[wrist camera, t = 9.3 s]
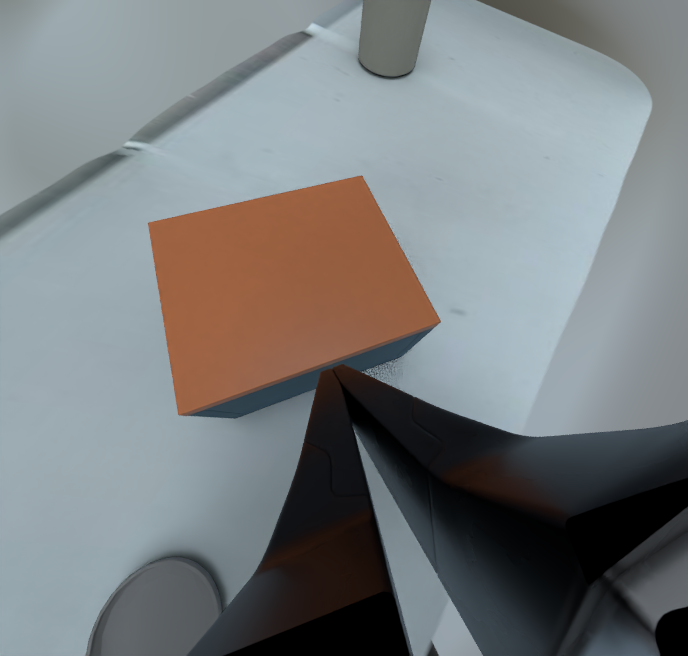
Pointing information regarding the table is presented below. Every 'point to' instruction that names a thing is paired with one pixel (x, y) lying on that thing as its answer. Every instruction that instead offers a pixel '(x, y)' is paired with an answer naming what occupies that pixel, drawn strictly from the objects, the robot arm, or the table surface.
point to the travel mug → (391, 35)
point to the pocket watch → (157, 611)
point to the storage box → (308, 380)
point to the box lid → (280, 289)
